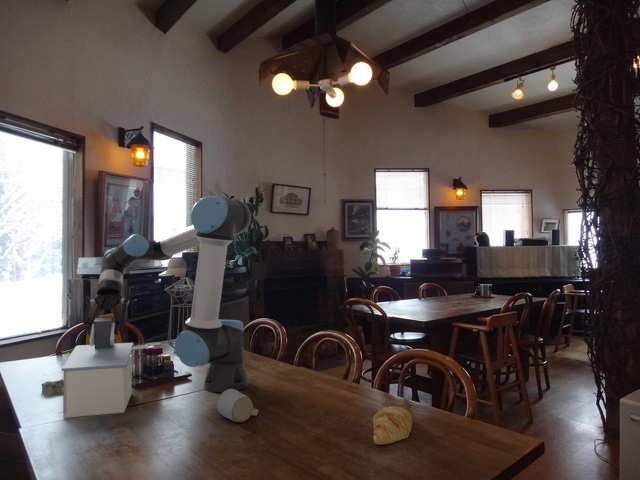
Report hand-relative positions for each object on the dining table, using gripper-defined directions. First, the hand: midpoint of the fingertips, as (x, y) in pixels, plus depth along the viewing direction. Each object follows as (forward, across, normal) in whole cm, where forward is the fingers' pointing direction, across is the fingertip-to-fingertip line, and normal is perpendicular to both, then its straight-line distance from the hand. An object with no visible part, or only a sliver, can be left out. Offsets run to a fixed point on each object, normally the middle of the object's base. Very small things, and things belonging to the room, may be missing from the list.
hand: (101, 342), depth 143 cm
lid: (+4, 0, -2) cm, 4 cm away
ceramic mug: (+31, -40, +4) cm, 50 cm away
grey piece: (+1, +16, -26) cm, 31 cm away
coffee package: (-18, +6, -45) cm, 49 cm away
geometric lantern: (-37, -24, -64) cm, 78 cm away
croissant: (+47, -76, +19) cm, 91 cm away
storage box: (+14, 0, -12) cm, 19 cm away
